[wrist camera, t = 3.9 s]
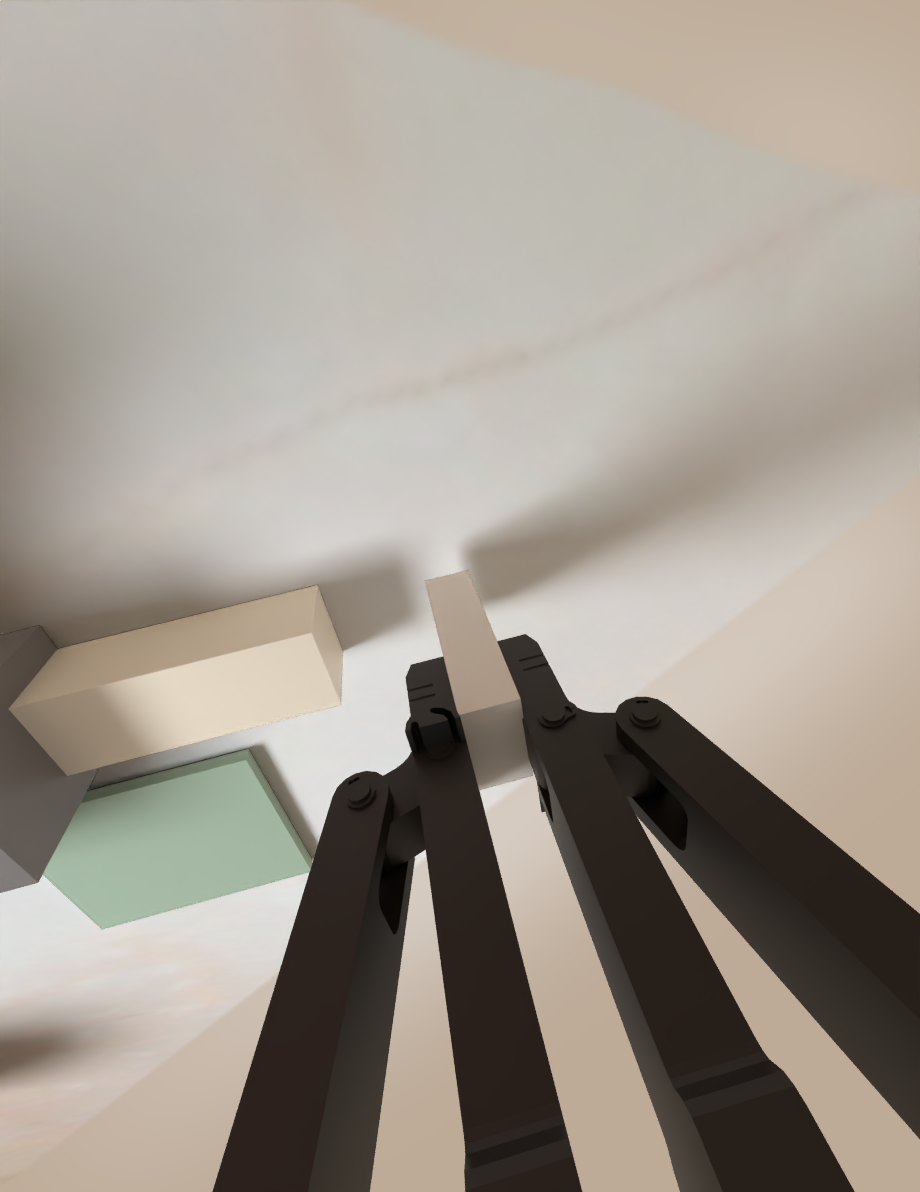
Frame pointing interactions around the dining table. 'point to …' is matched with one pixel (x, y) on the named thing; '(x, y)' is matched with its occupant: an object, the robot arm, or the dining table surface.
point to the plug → (145, 704)
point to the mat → (175, 841)
